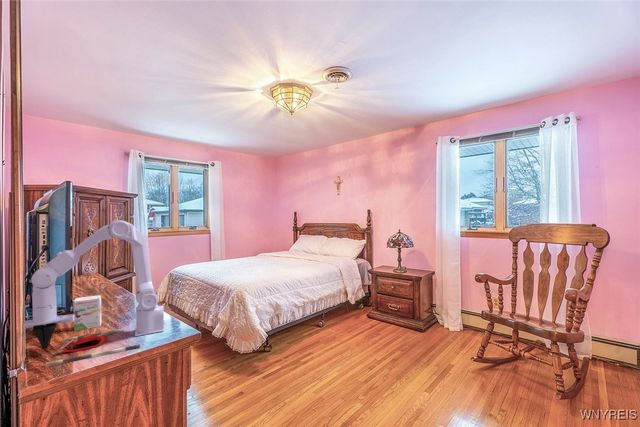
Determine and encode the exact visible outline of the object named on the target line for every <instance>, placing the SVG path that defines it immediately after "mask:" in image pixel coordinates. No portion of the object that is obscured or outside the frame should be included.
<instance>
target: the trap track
mask: <svg viewBox="0 0 640 427" xmlns="http://www.w3.org/2000/svg"><path fill="white" fill-rule="evenodd" d="M124 332H125V328H120V329H113V330H107V331H101V332H94V333H90V334H85V335H79V336H73V337H66V338H65V337H64V338H63V339H62V342H63V343H65V342H66V343H67V342H70V341H71V340H74V341H77V340H79V339H80V338H83V337H85V336H88V335H104V334H105V335H106V336H107V335H110V334H111V335H112V334H117V333H124ZM140 348H141V344H135V345H129V346H125V347H120V348H115V349H108V350H105V351H100V352H99V351H98V352H94V353H89V354H85V355H79V356H74V357H69V358H64V359H63V358H62V359H59V360H58V359H57V360H54V361H53V360H52V361H48V362H45V364H44V367H45V368H46V367H50V366H52V367H53V366H56V365H61V364H65V363H67V364H68V363H70V362H76V361H81V360H85V359H91V358H96V357H101V356H106V355H112V354H115V353H122V352H125V351H126V352H127V351H131V350H135V349H136V350H137V349H140Z"/></svg>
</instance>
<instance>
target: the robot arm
mask: <svg viewBox="0 0 640 427" xmlns="http://www.w3.org/2000/svg"><path fill="white" fill-rule="evenodd" d="M111 236H112V237H111ZM113 237H114V238H118V239H121V240H123V241H126V242H128V243H129V244H130V245H131V253H132V258H133V265H134V271H135V277H136V290H137V291H136V294H135V301H136V303H138V305H137V306H136V307H135V317H136V318H135V319H136V320H135V321H136V323H135V324H136V326H135V330H134V337H138V336H145V335H150V334H156V333H161V332H164V331H165V326H164V325H165V317H164V316H165V315H164V313H165V312H164V305H158V303H159V297H158V295H157V294H156V292H155V287H154V286H153V282H152V274H151V271H150V270H151V269H150V268H151V267H150V263H149V256H148V249H147V242H146V238H145V235H144V234H143V233H141V231H139V230H138V229H137V227H135V225H134V224H132V223H130V222H128V221H125V220H122V219H115V220H112V221H111V222H110V223H109V224H105V225H104V226H102V227H100V228H99V229H97V230H96V231H94V232H93V233H92V234H91V235H89V237H87V238H85V239H84V240H83V241H82V242H81V243H80V244H78V245H77V246H76V247H74V248H73V249H69V250H68V249H67V250H63V251H62V252H61V251H58V252H57V253H56V256H55V257H54V258H53V259H51V260H50V261H48V262H47V263H43V264H42V265H41V266H42V268H39V269H37V270H35V272H33V274H32V276H31V277H30V278H31V279H30V280H31V284H32V293H31V294H32V296H31V297H32V319H29V320H24V321H25V328H24V329H28V328H30V329H31V328H32V330H31V332H32V334H34V336H35V337H36V338H37V340H38V342H39V344H40V346H41V350H47V349H49V347H50V343H51V341H52V340H51V339H52V337H53V334H54V332H55V330H56V327H57V326H58V325H59V324H63V323H74V313H73V314H64V315H63V314H62V315H58V313H57V312H58V307H57V306H58V302H57V297H58V296H57V289H56V282H57V279H58V278H59V277H62V276H63V275H65V274H66V273H67V272H68V271H70V270H71V269H72V268H74V267H75V266H76V265H77V264H80V261H81V260H80V257H81V256H82V255H83V256H84V254H85V253H87V252H89V250H91V249H92V248H93V247H95V246H96V245H98V244H99V243H101V242H102V241H105V240H106V241H107V240H111V239H112V238H113Z"/></svg>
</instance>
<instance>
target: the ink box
mask: <svg viewBox="0 0 640 427" xmlns="http://www.w3.org/2000/svg"><path fill="white" fill-rule="evenodd" d="M73 314H74V321H73V331H74V332H75V331H80V330H87V329H93V328H100V327H101V325H102V295H100V294H98V295H97V294H96V295H91V296H90V295H89V296H82V297H76V298H75V299H74V300H73Z"/></svg>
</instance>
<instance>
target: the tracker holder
mask: <svg viewBox="0 0 640 427" xmlns="http://www.w3.org/2000/svg"><path fill="white" fill-rule="evenodd" d="M87 335H88V336H85V337H83V338H80V339H78V340H71V341H67V342H66V343H64V344H63V345H62V346H60V347H59V348H60V351H63V352H64V353H75V352H79V351H84V350H89V349H93V348H97V347H101V346H102V345H104V344H105V343H106V341H107V338H108V337H107V334H106V335H105V334H104V335H89V334H87ZM93 341H99V343H97V344H95V345H90V346H87V347H86V346H85V347H81V348H77V349H68V348H69V347H71V346H78V345H82V344H84V343H89V342H93Z"/></svg>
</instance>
